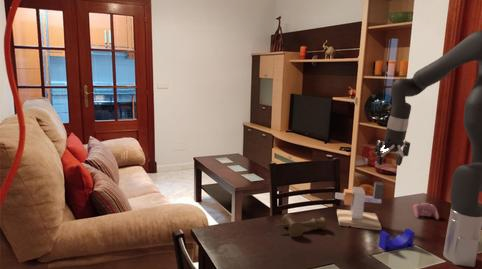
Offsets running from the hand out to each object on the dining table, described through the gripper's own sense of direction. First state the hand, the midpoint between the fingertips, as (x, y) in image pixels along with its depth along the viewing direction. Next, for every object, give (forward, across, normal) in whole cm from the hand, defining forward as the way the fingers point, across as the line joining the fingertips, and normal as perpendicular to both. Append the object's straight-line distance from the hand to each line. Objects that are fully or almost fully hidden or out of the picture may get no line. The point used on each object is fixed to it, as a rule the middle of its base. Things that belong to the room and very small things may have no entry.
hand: (388, 164), depth 146 cm
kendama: (+23, -40, -12) cm, 48 cm away
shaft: (+14, -14, -4) cm, 20 cm away
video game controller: (+23, +20, -4) cm, 31 cm away
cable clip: (+21, -10, -26) cm, 35 cm away
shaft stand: (+23, -13, -6) cm, 27 cm away
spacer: (+16, -17, -3) cm, 24 cm away
